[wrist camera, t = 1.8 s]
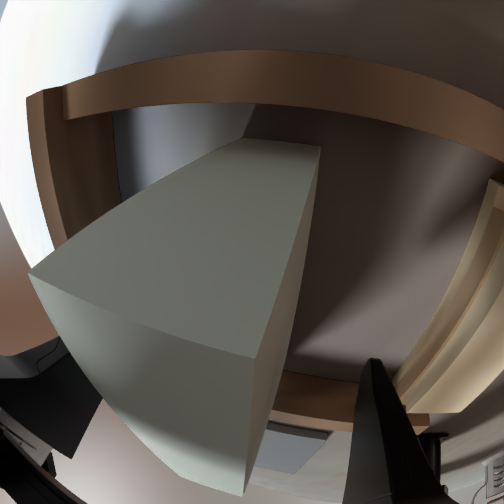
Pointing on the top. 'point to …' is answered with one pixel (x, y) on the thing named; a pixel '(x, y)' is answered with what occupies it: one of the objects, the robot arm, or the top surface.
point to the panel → (191, 303)
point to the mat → (287, 447)
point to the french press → (493, 476)
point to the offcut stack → (463, 324)
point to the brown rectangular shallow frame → (238, 91)
